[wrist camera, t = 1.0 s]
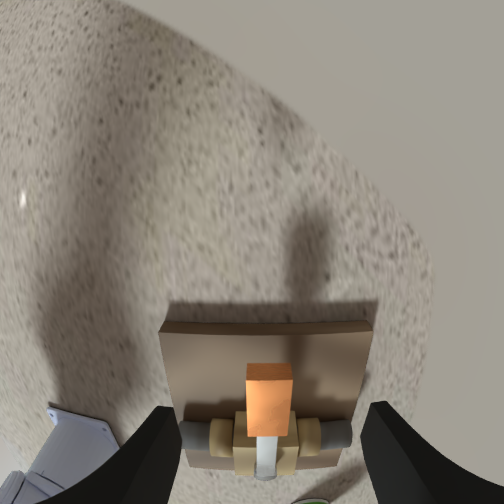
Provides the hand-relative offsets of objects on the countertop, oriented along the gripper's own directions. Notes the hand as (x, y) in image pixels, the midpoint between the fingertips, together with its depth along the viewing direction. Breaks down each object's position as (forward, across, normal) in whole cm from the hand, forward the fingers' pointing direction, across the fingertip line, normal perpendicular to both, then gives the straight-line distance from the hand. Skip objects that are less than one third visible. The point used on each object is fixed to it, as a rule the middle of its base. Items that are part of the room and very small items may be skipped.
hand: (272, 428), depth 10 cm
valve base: (+10, 0, +10) cm, 15 cm away
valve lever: (+5, 0, +6) cm, 8 cm away
